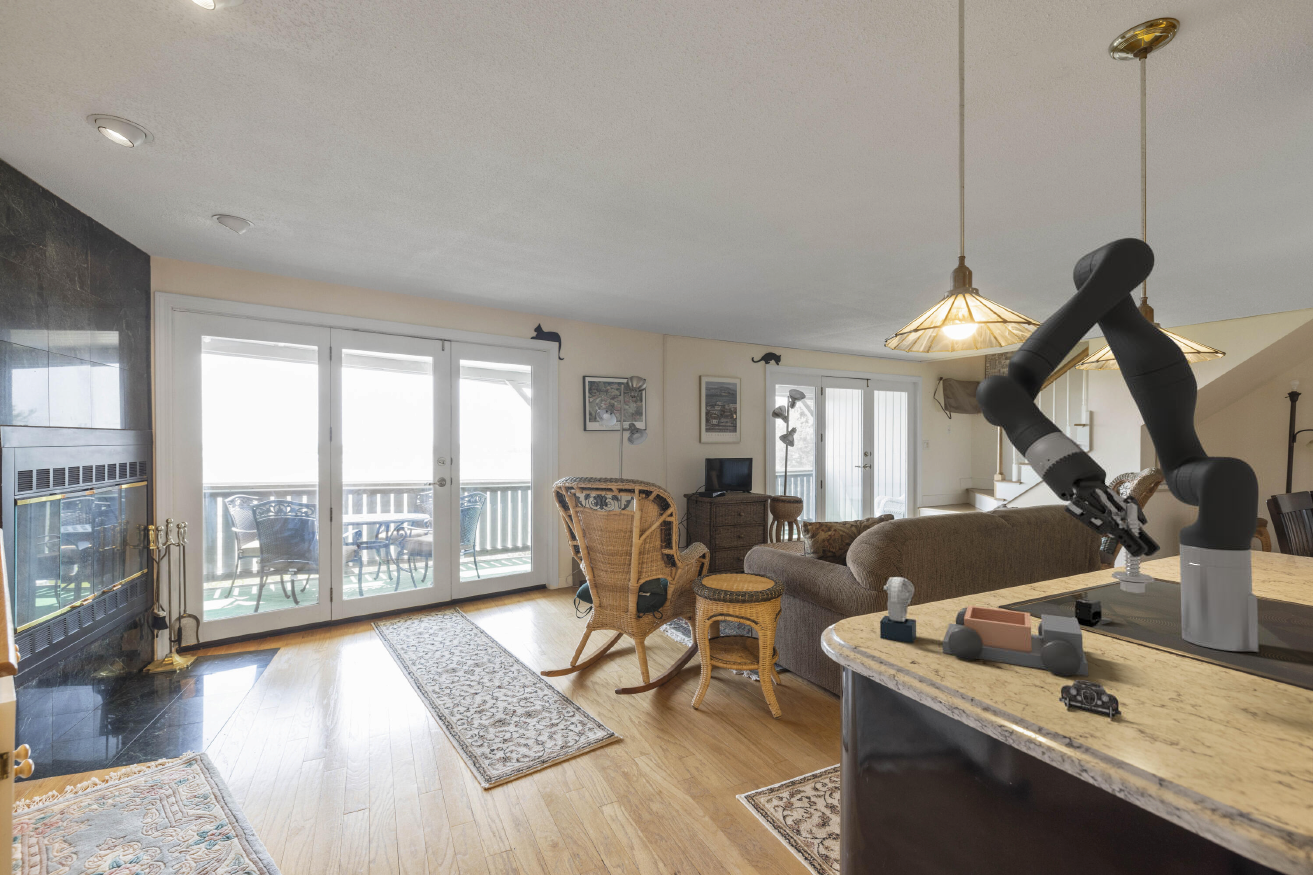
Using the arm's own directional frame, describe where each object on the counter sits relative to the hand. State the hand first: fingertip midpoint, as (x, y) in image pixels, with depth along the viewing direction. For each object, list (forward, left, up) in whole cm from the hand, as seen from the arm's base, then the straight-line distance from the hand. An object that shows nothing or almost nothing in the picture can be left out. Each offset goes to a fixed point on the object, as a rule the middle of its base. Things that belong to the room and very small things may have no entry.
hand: (1147, 552), depth 84 cm
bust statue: (+35, -7, -20) cm, 41 cm away
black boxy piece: (+4, -38, -21) cm, 43 cm away
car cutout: (+4, +13, -21) cm, 25 cm away
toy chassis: (+17, -8, -20) cm, 27 cm away
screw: (+2, -1, -6) cm, 6 cm away
